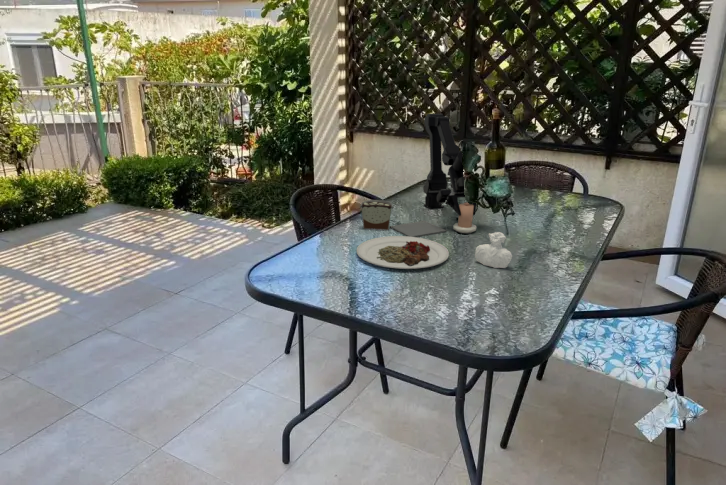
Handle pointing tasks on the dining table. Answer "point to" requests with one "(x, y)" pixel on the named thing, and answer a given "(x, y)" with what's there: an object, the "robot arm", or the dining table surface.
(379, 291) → the dining table surface
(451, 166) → the robot arm
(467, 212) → the peach pillar candle
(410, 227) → the rubber mat
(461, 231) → the cream ceramic bowl
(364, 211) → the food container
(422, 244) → the plated food
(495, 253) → the white tied sack
